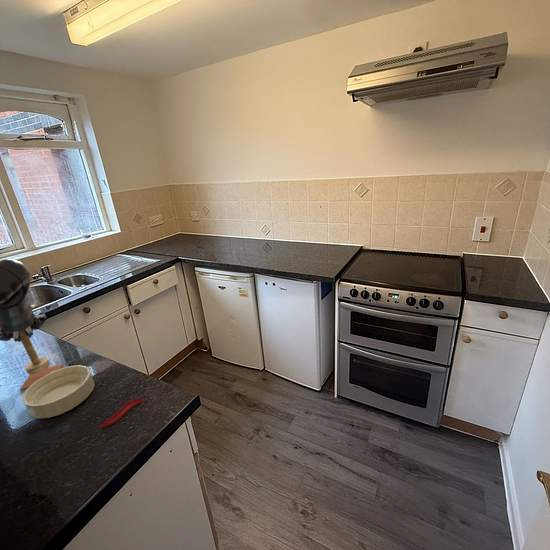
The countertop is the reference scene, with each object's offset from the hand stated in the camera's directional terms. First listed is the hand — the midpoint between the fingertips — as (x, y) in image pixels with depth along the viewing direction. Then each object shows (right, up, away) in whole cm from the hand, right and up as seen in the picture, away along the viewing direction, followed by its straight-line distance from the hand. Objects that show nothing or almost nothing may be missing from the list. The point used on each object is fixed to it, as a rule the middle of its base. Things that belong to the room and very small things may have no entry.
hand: (23, 337), depth 93 cm
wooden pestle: (+3, -10, +3) cm, 11 cm away
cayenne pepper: (+38, -17, -14) cm, 44 cm away
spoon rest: (+3, -14, +4) cm, 15 cm away
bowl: (+17, -16, -6) cm, 24 cm away
